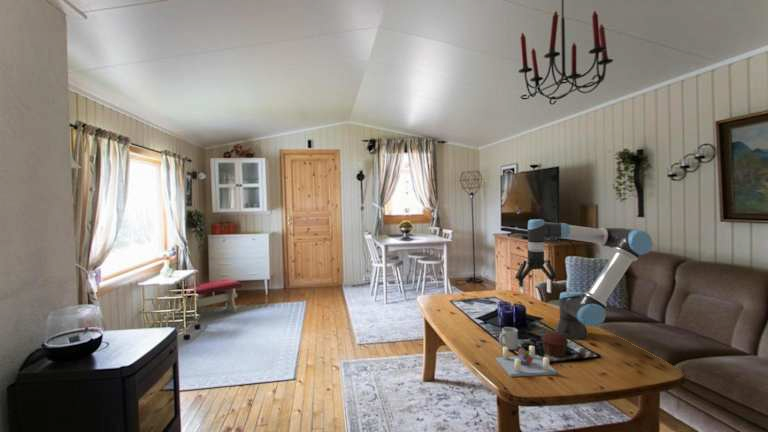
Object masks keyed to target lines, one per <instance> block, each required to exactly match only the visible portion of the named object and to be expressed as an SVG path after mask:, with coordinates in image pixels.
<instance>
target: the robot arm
mask: <svg viewBox="0 0 768 432" xmlns="http://www.w3.org/2000/svg"><path fill="white" fill-rule="evenodd" d="M652 238H653V237H651V235H650V234H649V233H648V232H647V231H645V230H641V229H637V228H636V229H633V228H623V227H600V228H594V227H588V226H579V225H573V224H568V223H565V222H548V221H545V220H544V219H538V218H537V219H535V218H534V219H532V218H531V219H529V220H528V221H527V240H528V241H527V250H528V251H527V260H524V259H522V260H521V264H520V266H519V268H518V270H517V272H516V274H515V279H516V280H518V285H519V287H520V293H521V294H523V295H525V291H526V290H525V286H526V283H525V279H526V277H527V276H528V275H529V273H531V271H533V270H541V271H542V272H543V274H545V276H546V277H547V279H546V292H547V293H549V294H552V286H553V285H554V283H553V282H554V281H555V279H557V277H558V276H557V274H556V273H555V270H554V268H553V266H552V264H551V260H550V259H545V239H566V240H571V241H572V240H573V241H581V242H588V243H595V244H597V245H599V246H604V247H607V248H610V249H612V250H613V254H612V255H611V257H610V258H609V260H608V261H607V263H606V264H605V265H604V267H603V269H602V270H601V271H600V273H599V274H598V276H597V277H596V279H595V281H594V282H593V284H592V285H591V287H590V288H589V290H588V291H586V292H579V291H563V292H560V294H559V320H558V322H557V325H556V327H555V332H559V333H561V334H562V335H564V336H565V337H566V339H570V340H585V339H587V338H588V336H589V333H588V330H587V328H586V327H591V328H593V327H598V326H600V325H601V324H603V323H604V321H605V319H606V317H607V316H606V308H607V303H606V302H607V300H608V299H609V297H610V296H611V294H612V292H613V291H614V289H616V287H617V285H618V284H619V282H620V281H621V279H622V277H623V276H624V274H625V273H626V271H627V270H628V269H629V267H630V265H631V264H632V263H633V262H636V261H638V260H639V258H640V257H641V256H642V255H646V254H649V252H650V251H651V250H652V248H653V243H654V242H653V239H652ZM544 265H546V267H547V269H548V270H547V269H546V267H545V266H544Z"/></svg>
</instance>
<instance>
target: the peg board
mask: <svg viewBox="0 0 768 432" xmlns="http://www.w3.org/2000/svg"><path fill="white" fill-rule="evenodd" d="M535 347H536V346H534V345H529V346H528V351H529V350H530V353H529V355H530V356H532V357H533V358H534V359H533V360H532V362H531V365H530V366H529V365H527V363H526V362H525V363H522V365H521V359H520V358H519V357H517V356H516V355H515V356H509V350H508V347H503V346H502V356H498V357H495V361H496V362H497V363H498V364H499V365H500V366H501V367H502V369H503V370H504V371H505V372H506V373H507V374H508V376H509V377H510V378H513V377H514V378H515V377H532V376H552V375H553V376H555V375H558V371H557V370H555V368H554V367H552V366H551V365H550V358H549V357H546V356H544V357H541V356H539V355H536V348H535Z"/></svg>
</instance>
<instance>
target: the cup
mask: <svg viewBox="0 0 768 432" xmlns="http://www.w3.org/2000/svg"><path fill="white" fill-rule="evenodd" d="M518 333H519V331H518V329H517V328H516V327H511V326H504V327H502V329H501V333H500V334H499V337H498V344H500V346H502V348H503V347H508V351H509V350H510V351H514V349H515V350H517V349H518V344H519V343H518V337H519V336H518Z"/></svg>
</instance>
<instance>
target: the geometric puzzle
mask: <svg viewBox="0 0 768 432" xmlns="http://www.w3.org/2000/svg"><path fill="white" fill-rule="evenodd" d="M529 353H530V350H529V349H528V350H526V349H524V348H522V347H520V348H519V349H518V350H517V354H516V355H515V356H517V357H519V358H520V359H521V365H522V363H525V362H526V363H527V365H529V366H530V365H531V362H532V360H533V359H534V358H533V357H532V356H530V355H529Z"/></svg>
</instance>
